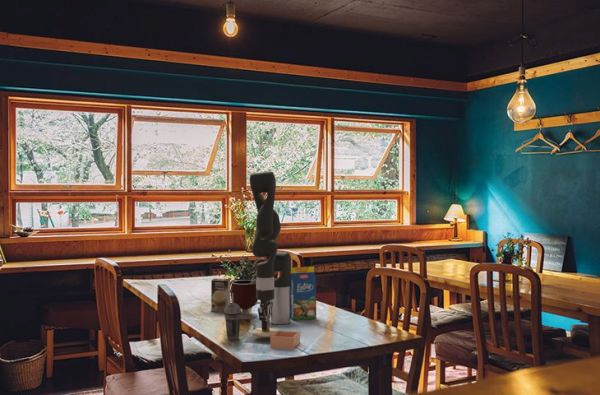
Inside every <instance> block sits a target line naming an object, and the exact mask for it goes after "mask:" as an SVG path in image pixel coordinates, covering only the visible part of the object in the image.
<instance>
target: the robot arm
mask: <svg viewBox="0 0 600 395" xmlns="http://www.w3.org/2000/svg"><path fill="white" fill-rule="evenodd" d="M276 180H277V179H276V176H275V174H274V171H271V170H266V171H260V172H258V171H257V172H252V173H251V174H250V175H249V184H250V185H249V186H250V189H251V192H252V196H253V200H254V203H255V206H256V212H257V214H256V221H255V225H256V226H255V228H256V229H255V232H256V233H255V235H254V236H255V237H254V241H253V242H252V247H251V253H252V255H253V256H255V257H256V258H265V259H266V260H265V261H262V262H259V263H257V264H256V278H257V280H256V298H257V299H258V301H260V303H259V307H257V315H258V320H259V321H261V328H262V330H267V316H269V324H270V325H271V324H272V325H273V324H275V325H287V324H290V323H291V319H290V280H291V268H292V256H291V254H290V252H286V251H283V252H282V251H278V247H279V246H278V242H276V241H277V239H278V237H279V236H280V233H281V229H282V226H281V221H280V216H279V214H278V213H277V212H278V211H276V210H275V209H274V206H275V200H276V199H275V198H276V197H275V196H276V189H277V182H276ZM262 193H263V194H264V193H267V195H266V197H265V198H264V196H263V195H262ZM275 272H278V273H280V272H281V273H280V274H281V275H280V276H279V277H276V278H275V276H274V275H275V274H274V273H275ZM263 317H264V318H263Z"/></svg>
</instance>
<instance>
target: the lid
mask: <svg viewBox="0 0 600 395" xmlns="http://www.w3.org/2000/svg"><path fill="white" fill-rule="evenodd" d="M263 318H264V317H263ZM276 331H280V330H279V328H275V327H271V323H270V324H269V316H267V330H262V327H257V328H255V329H253V330H252V335H254V336H257V337H270V336H271V335H273V334H274V333H275V332H276Z"/></svg>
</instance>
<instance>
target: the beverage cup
mask: <svg viewBox="0 0 600 395" xmlns="http://www.w3.org/2000/svg"><path fill="white" fill-rule="evenodd" d="M241 313H242V309H241V308H240V306H239V305H238V304H236V303H233V293H232V300H231V302H230V304H228V305H227V306H226V308H225V311H223V314H224V318H225V328H226V338H227V340H228V341H237V340H239V336H240V328H241V327H240V326H241V319H240V318H241Z"/></svg>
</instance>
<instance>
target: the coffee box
mask: <svg viewBox="0 0 600 395" xmlns="http://www.w3.org/2000/svg"><path fill="white" fill-rule="evenodd" d="M210 283H211V287H210V289H211V291H210V292H211V295H210V296H211V298H210V300H211V301H210V305H211V306H210V307H211V308H210V311H211V312H225V308H226V306H227V305H228V304H230V303H231V279H230V278H212V279H211V282H210Z"/></svg>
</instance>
